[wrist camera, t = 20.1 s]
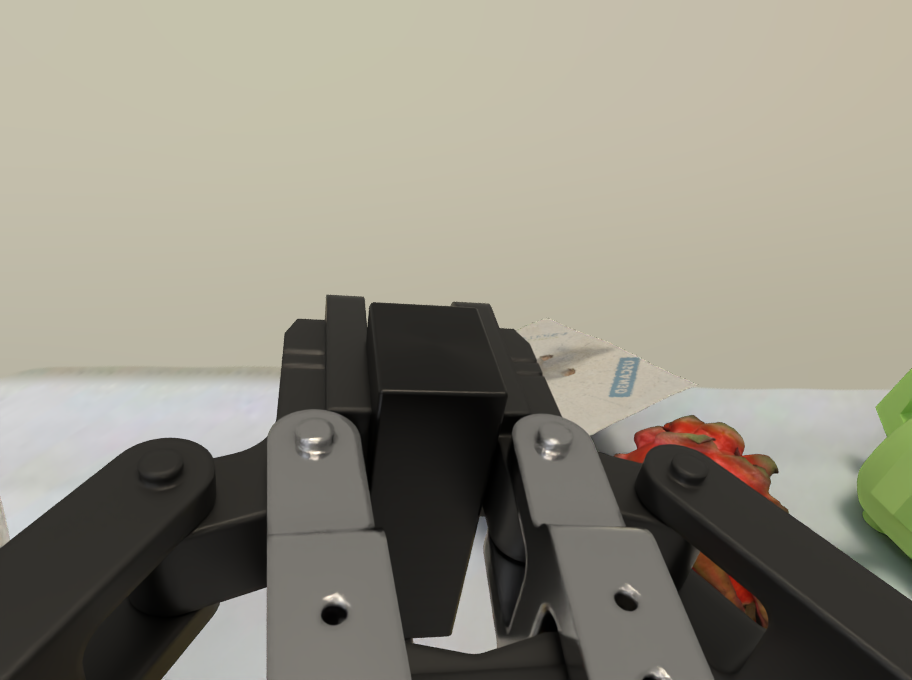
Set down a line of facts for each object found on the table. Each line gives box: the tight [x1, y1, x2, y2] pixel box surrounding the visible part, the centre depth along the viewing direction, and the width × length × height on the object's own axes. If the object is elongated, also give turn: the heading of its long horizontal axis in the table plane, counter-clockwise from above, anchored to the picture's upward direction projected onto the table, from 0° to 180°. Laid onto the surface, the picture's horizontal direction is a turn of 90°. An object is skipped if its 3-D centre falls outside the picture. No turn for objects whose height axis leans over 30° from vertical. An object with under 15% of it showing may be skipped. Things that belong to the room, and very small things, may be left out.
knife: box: [366, 302, 508, 643], centre depth 14 cm, size 2×3×14 cm
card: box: [516, 318, 697, 436], centre depth 39 cm, size 11×15×5 cm
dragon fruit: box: [614, 415, 789, 629], centre depth 31 cm, size 8×8×12 cm
